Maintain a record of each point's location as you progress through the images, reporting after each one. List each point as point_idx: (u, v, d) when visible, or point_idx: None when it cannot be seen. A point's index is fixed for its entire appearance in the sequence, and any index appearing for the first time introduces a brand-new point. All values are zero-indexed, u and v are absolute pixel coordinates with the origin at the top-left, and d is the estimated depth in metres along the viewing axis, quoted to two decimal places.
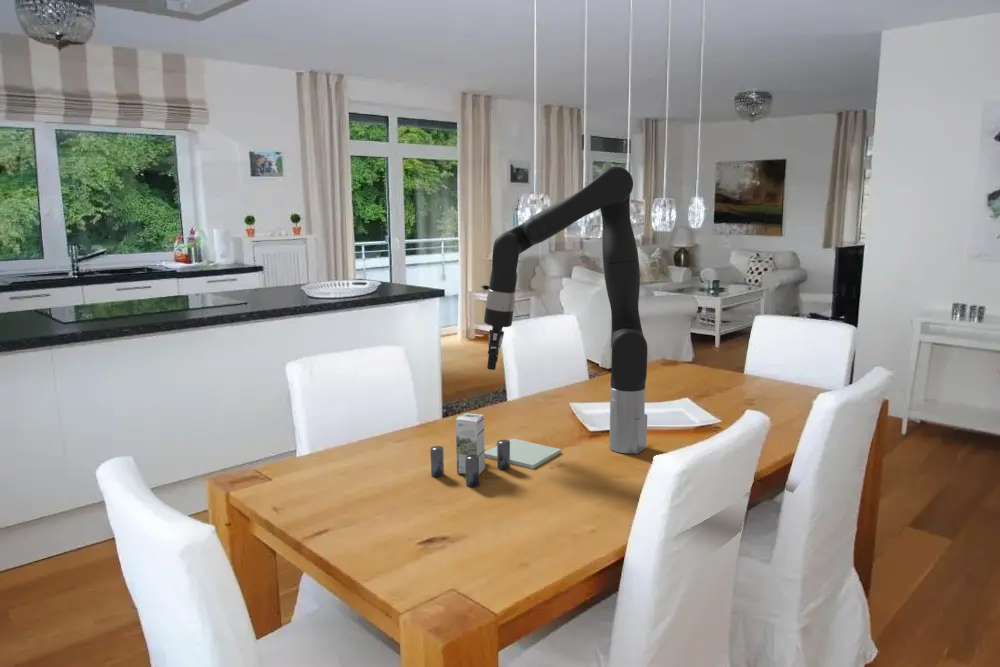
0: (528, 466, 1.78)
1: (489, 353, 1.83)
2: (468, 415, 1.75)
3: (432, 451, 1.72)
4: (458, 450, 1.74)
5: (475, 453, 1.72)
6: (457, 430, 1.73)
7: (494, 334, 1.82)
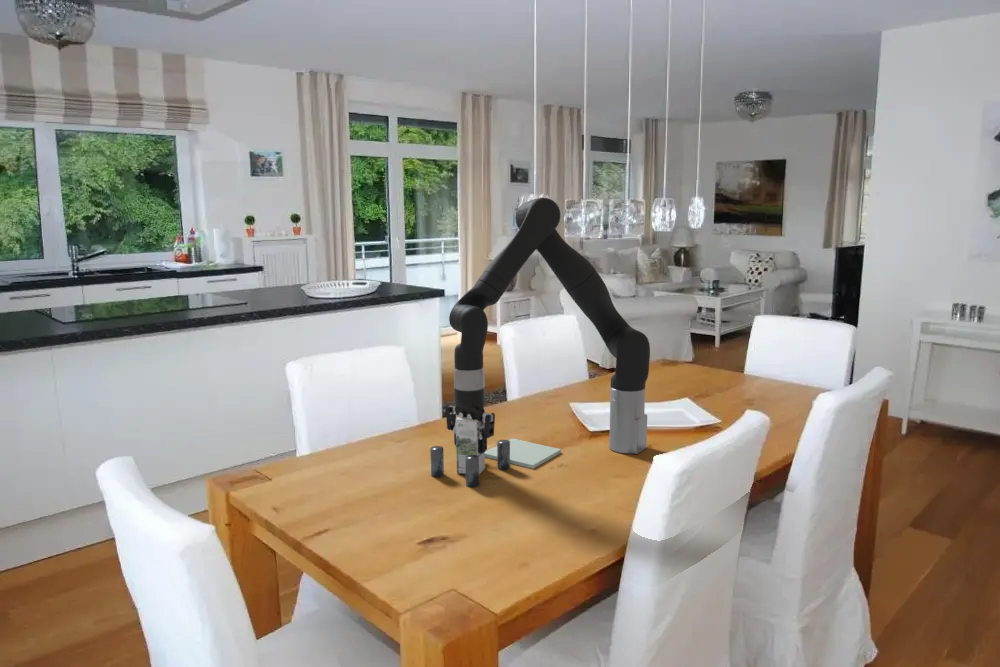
0: (528, 466, 1.78)
1: (488, 437, 1.70)
2: None
3: (432, 451, 1.72)
4: (458, 450, 1.74)
5: (475, 453, 1.72)
6: (457, 430, 1.73)
7: (491, 416, 1.70)
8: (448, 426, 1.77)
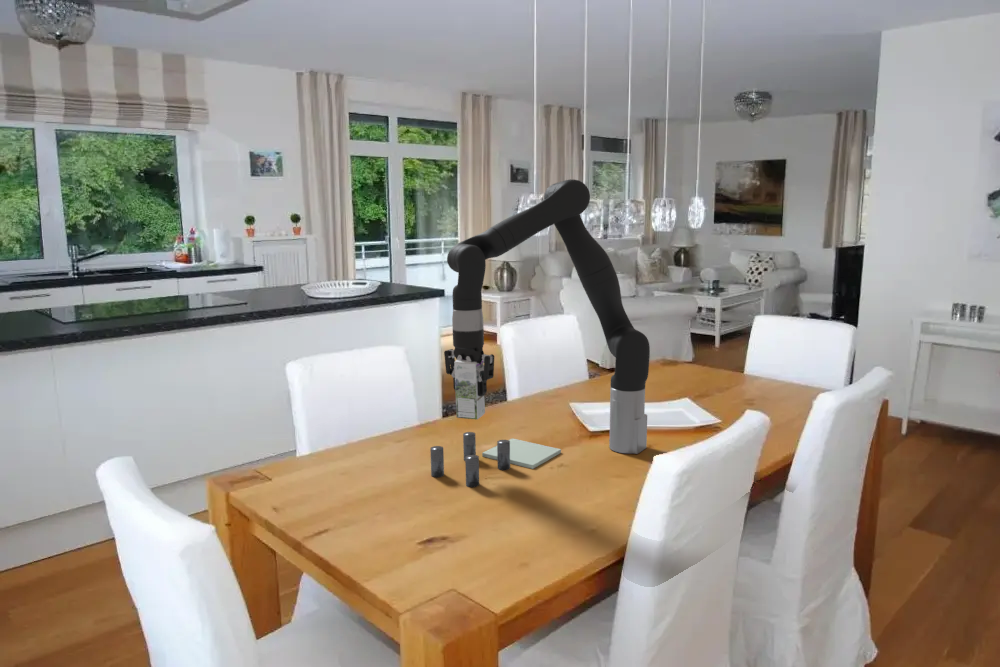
0: (528, 466, 1.78)
1: (488, 378, 1.68)
2: None
3: (432, 451, 1.72)
4: (457, 393, 1.71)
5: (475, 396, 1.69)
6: (456, 373, 1.70)
7: (490, 357, 1.67)
8: (447, 370, 1.74)
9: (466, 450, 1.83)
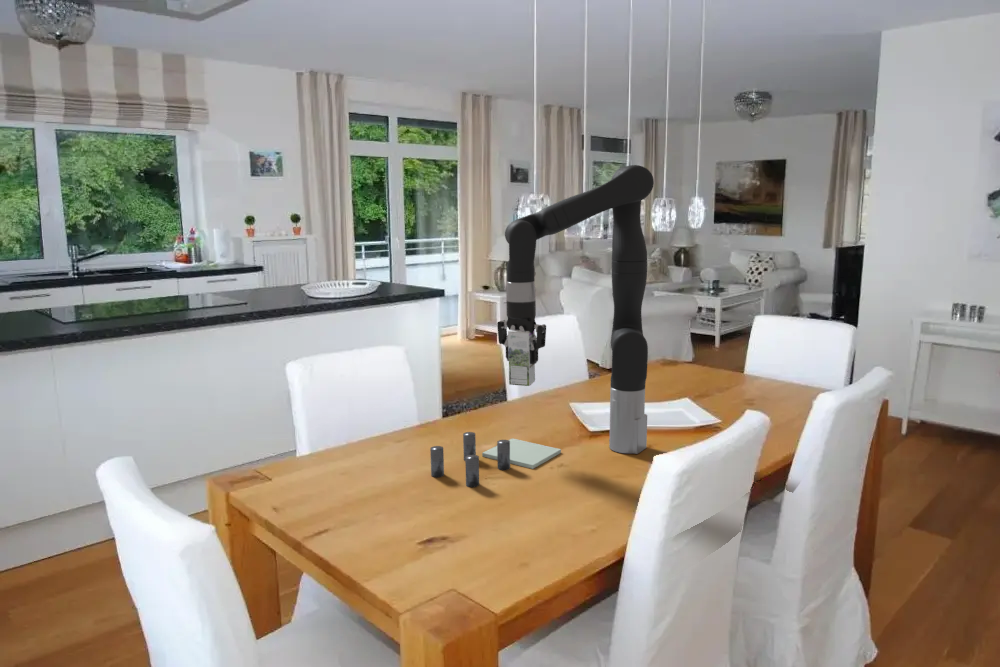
0: (528, 466, 1.78)
1: (540, 347, 1.78)
2: None
3: (432, 451, 1.72)
4: (510, 361, 1.81)
5: (527, 364, 1.80)
6: (509, 342, 1.80)
7: (543, 327, 1.77)
8: (500, 340, 1.85)
9: (466, 450, 1.83)
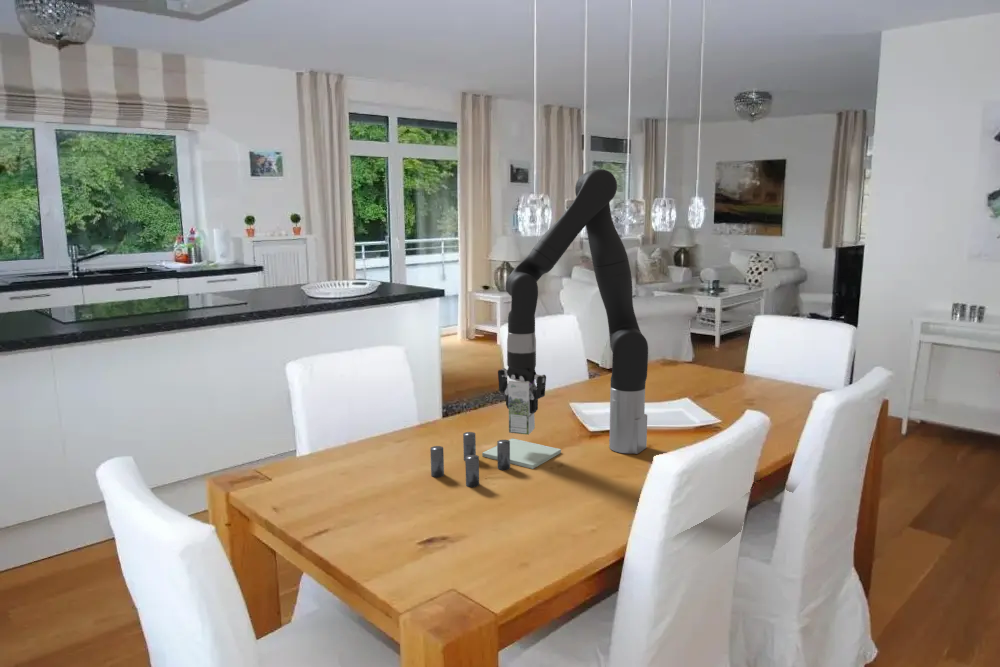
0: (528, 466, 1.78)
1: (540, 397, 1.81)
2: None
3: (432, 451, 1.72)
4: (510, 410, 1.84)
5: (527, 413, 1.82)
6: (510, 391, 1.83)
7: (543, 377, 1.80)
8: (500, 388, 1.87)
9: (466, 450, 1.83)
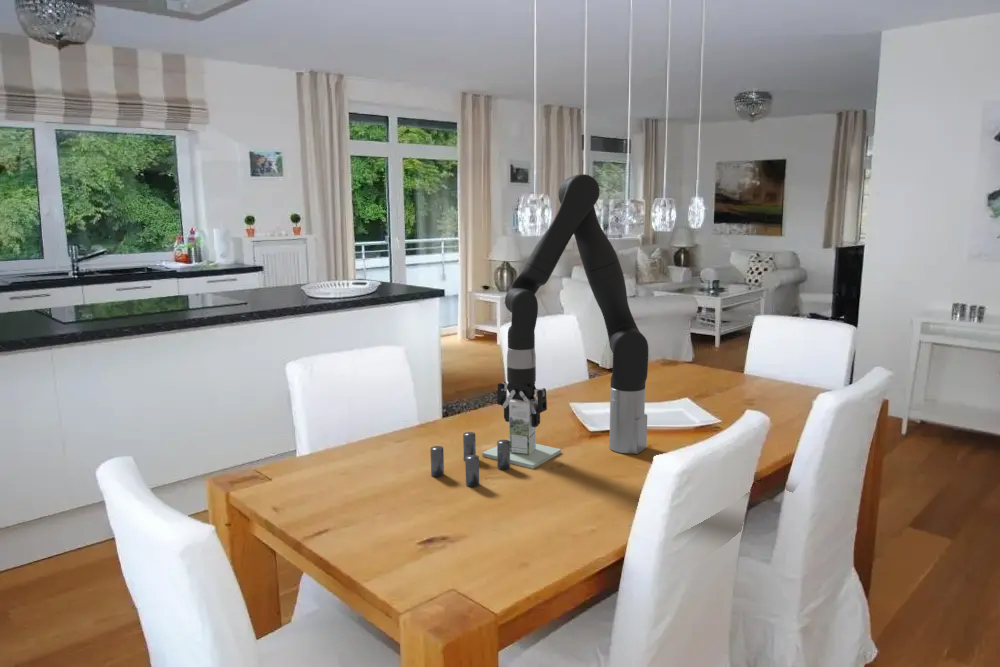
0: (528, 466, 1.78)
1: (542, 411, 1.81)
2: None
3: (432, 451, 1.72)
4: (511, 430, 1.85)
5: (528, 433, 1.83)
6: (510, 412, 1.84)
7: (542, 391, 1.80)
8: (498, 401, 1.88)
9: (466, 450, 1.83)
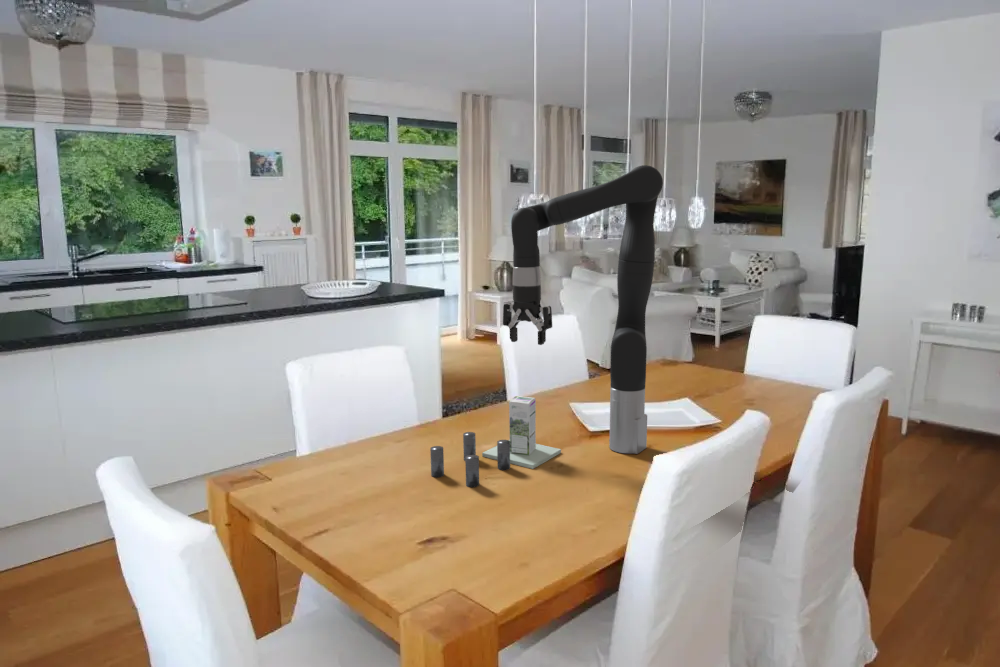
0: (528, 466, 1.78)
1: (548, 327, 1.85)
2: (520, 398, 1.86)
3: (432, 451, 1.72)
4: (511, 430, 1.85)
5: (528, 434, 1.83)
6: (510, 412, 1.84)
7: (548, 308, 1.84)
8: (504, 322, 1.92)
9: (466, 450, 1.83)
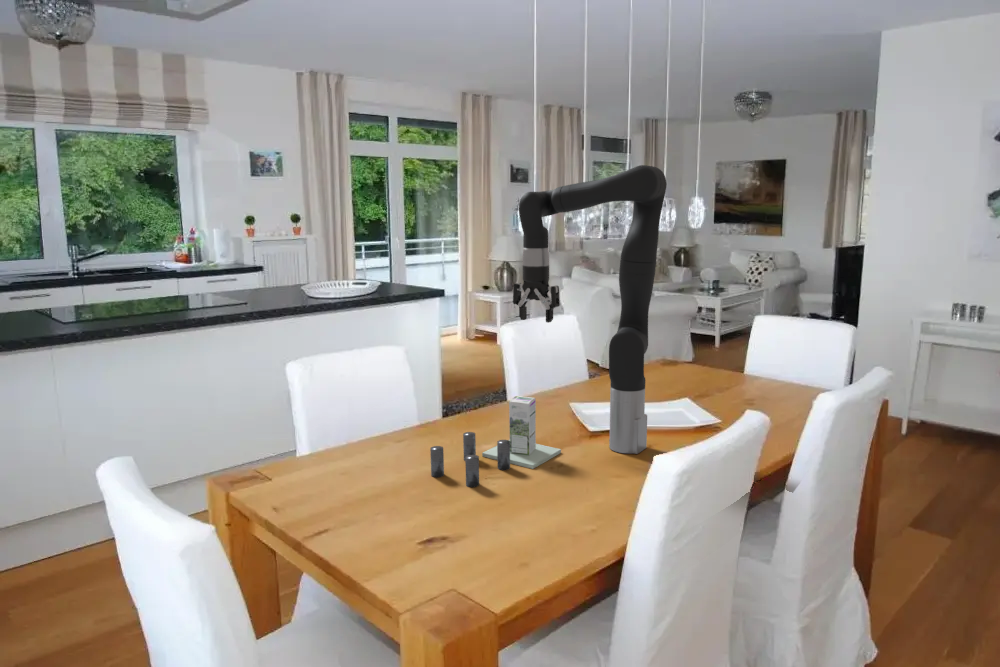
0: (528, 466, 1.78)
1: (555, 306, 1.95)
2: (521, 398, 1.86)
3: (432, 451, 1.72)
4: (511, 430, 1.85)
5: (528, 434, 1.83)
6: (510, 412, 1.84)
7: (556, 287, 1.94)
8: (514, 301, 2.02)
9: (466, 450, 1.83)
